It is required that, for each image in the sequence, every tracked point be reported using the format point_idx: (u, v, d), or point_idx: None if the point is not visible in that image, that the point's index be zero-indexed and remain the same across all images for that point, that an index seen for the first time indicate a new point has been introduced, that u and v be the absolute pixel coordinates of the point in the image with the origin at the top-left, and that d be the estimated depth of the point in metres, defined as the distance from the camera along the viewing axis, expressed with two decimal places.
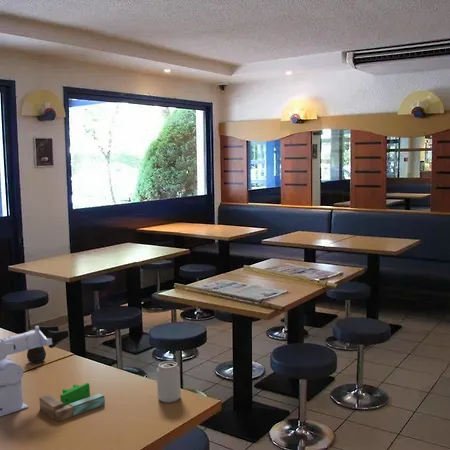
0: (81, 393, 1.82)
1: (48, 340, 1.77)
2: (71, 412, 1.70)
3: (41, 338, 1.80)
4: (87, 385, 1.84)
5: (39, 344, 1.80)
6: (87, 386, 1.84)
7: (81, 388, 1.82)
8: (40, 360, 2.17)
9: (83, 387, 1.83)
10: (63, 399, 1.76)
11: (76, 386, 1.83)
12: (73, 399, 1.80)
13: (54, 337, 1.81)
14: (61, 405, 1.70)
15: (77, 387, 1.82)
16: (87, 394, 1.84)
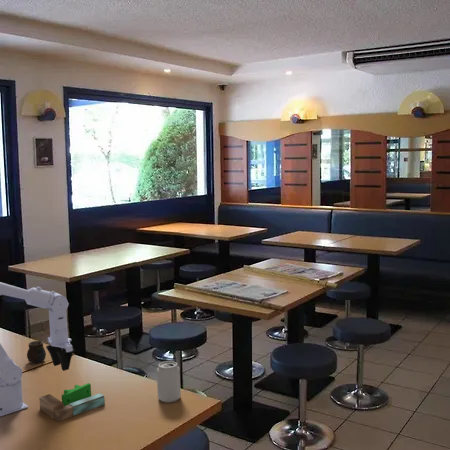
0: (82, 393, 1.82)
1: (71, 347, 1.81)
2: (71, 412, 1.70)
3: (65, 343, 1.83)
4: (88, 385, 1.84)
5: (58, 342, 1.83)
6: (88, 386, 1.84)
7: (82, 388, 1.82)
8: (40, 360, 2.17)
9: (84, 387, 1.82)
10: (64, 399, 1.76)
11: (77, 386, 1.82)
12: (74, 399, 1.79)
13: (65, 355, 1.83)
14: (61, 405, 1.70)
15: (78, 387, 1.82)
16: (88, 394, 1.84)
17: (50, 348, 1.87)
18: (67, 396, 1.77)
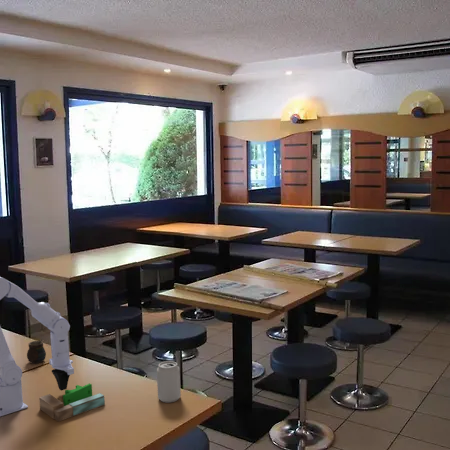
0: (83, 394, 1.82)
1: (72, 370, 1.81)
2: (71, 412, 1.70)
3: (66, 365, 1.84)
4: (89, 386, 1.84)
5: (60, 365, 1.83)
6: (89, 387, 1.84)
7: (83, 389, 1.81)
8: (40, 360, 2.17)
9: (85, 388, 1.82)
10: (65, 400, 1.76)
11: (78, 387, 1.82)
12: (76, 400, 1.79)
13: (63, 375, 1.86)
14: (61, 405, 1.70)
15: (80, 388, 1.81)
16: (89, 395, 1.84)
17: None
18: (68, 396, 1.76)
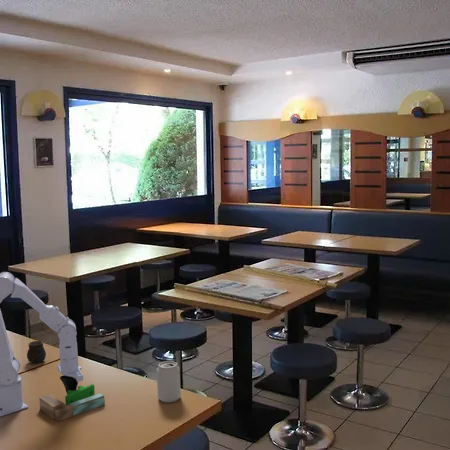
0: (86, 394, 1.81)
1: (82, 377, 1.77)
2: (71, 412, 1.70)
3: (75, 372, 1.80)
4: (92, 386, 1.83)
5: (68, 371, 1.79)
6: (92, 387, 1.83)
7: (86, 389, 1.81)
8: (40, 360, 2.17)
9: (88, 388, 1.81)
10: (68, 400, 1.75)
11: (81, 387, 1.81)
12: (78, 400, 1.78)
13: (71, 382, 1.82)
14: (61, 405, 1.70)
15: (82, 388, 1.80)
16: (92, 395, 1.83)
17: None
18: (71, 397, 1.76)
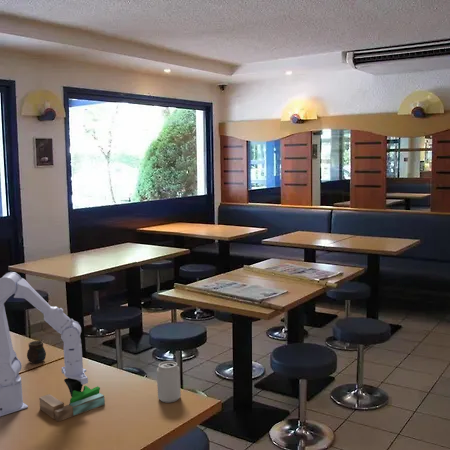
0: None
1: (86, 379, 1.75)
2: (71, 412, 1.70)
3: (80, 374, 1.78)
4: (98, 389, 1.81)
5: (73, 374, 1.77)
6: (97, 390, 1.81)
7: (91, 392, 1.79)
8: (40, 360, 2.17)
9: (93, 391, 1.79)
10: None
11: (87, 389, 1.79)
12: None
13: (76, 384, 1.79)
14: (61, 405, 1.70)
15: (88, 391, 1.78)
16: None
17: None
18: (75, 400, 1.74)
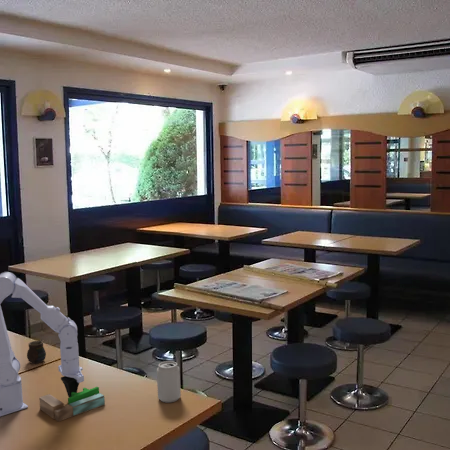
0: None
1: (82, 378, 1.76)
2: (71, 412, 1.70)
3: (76, 373, 1.79)
4: (96, 389, 1.81)
5: (69, 372, 1.78)
6: (96, 390, 1.81)
7: (90, 392, 1.79)
8: (40, 360, 2.17)
9: (92, 391, 1.79)
10: (70, 402, 1.73)
11: (85, 390, 1.79)
12: None
13: (72, 383, 1.81)
14: (61, 405, 1.70)
15: (86, 390, 1.79)
16: None
17: None
18: (73, 399, 1.74)
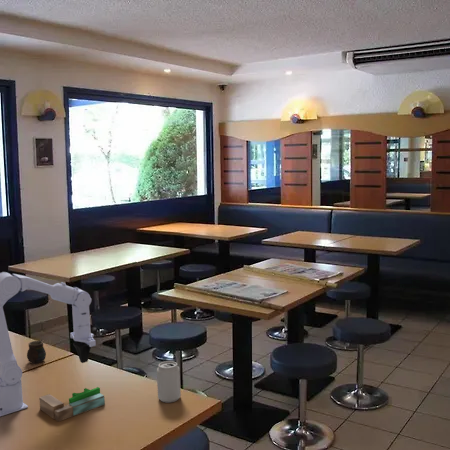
0: None
1: (94, 342, 1.85)
2: (71, 412, 1.70)
3: (88, 338, 1.88)
4: (97, 389, 1.80)
5: (81, 337, 1.87)
6: (97, 390, 1.80)
7: (91, 392, 1.78)
8: (40, 360, 2.17)
9: (93, 391, 1.79)
10: None
11: (86, 390, 1.79)
12: None
13: (84, 348, 1.90)
14: (61, 405, 1.70)
15: (87, 391, 1.78)
16: None
17: None
18: (74, 400, 1.74)
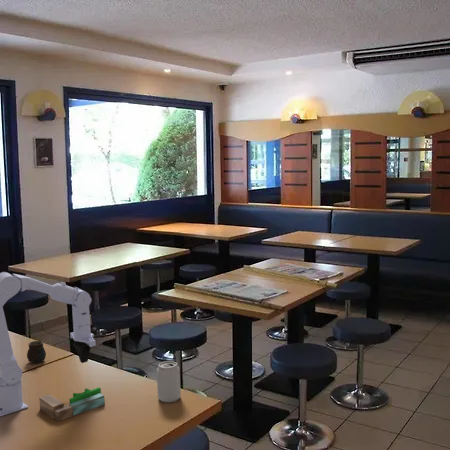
0: None
1: (94, 342, 1.85)
2: (71, 412, 1.70)
3: (88, 338, 1.88)
4: (98, 390, 1.80)
5: (81, 337, 1.87)
6: (98, 391, 1.80)
7: (92, 393, 1.78)
8: (40, 360, 2.17)
9: (94, 392, 1.79)
10: None
11: (87, 390, 1.79)
12: None
13: (84, 348, 1.90)
14: (61, 405, 1.70)
15: (88, 391, 1.78)
16: None
17: None
18: (75, 400, 1.73)
